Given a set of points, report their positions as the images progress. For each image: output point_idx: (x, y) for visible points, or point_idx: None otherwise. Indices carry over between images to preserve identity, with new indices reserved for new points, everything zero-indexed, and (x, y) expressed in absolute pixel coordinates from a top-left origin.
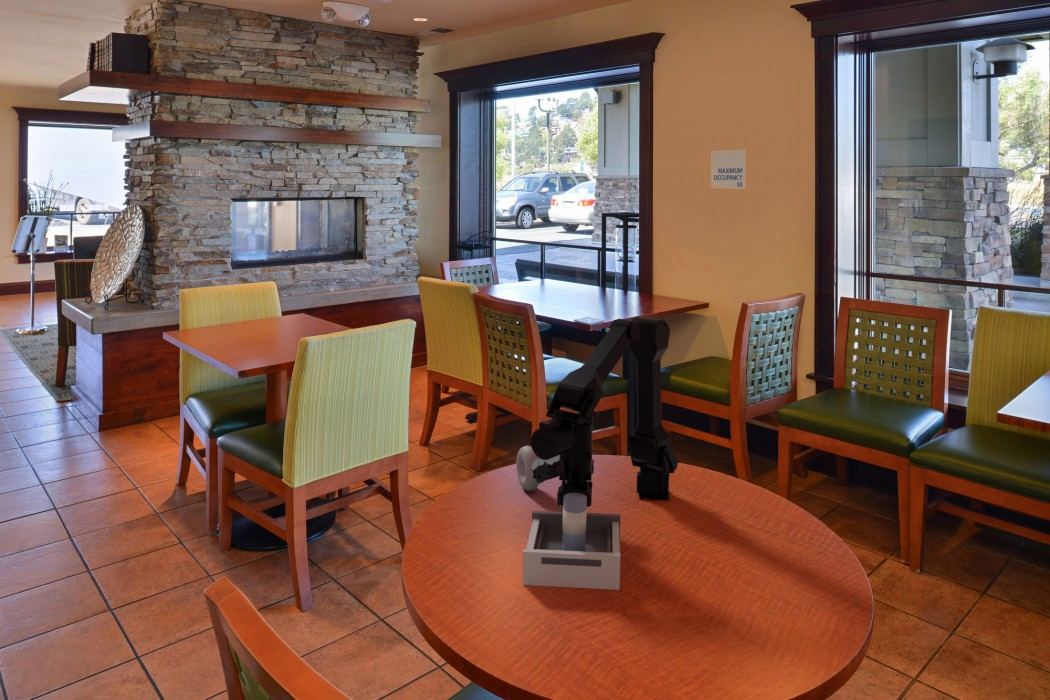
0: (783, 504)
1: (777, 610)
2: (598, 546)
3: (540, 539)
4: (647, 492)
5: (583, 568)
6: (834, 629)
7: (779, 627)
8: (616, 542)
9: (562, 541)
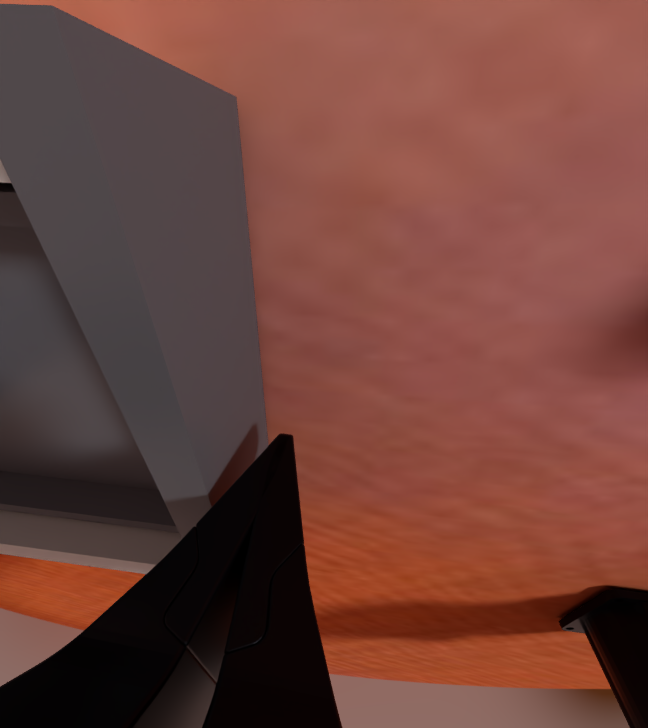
0: (461, 683)
1: (69, 601)
2: (122, 466)
3: None
4: (620, 625)
5: None
6: (59, 618)
7: (21, 592)
8: (27, 553)
9: None
